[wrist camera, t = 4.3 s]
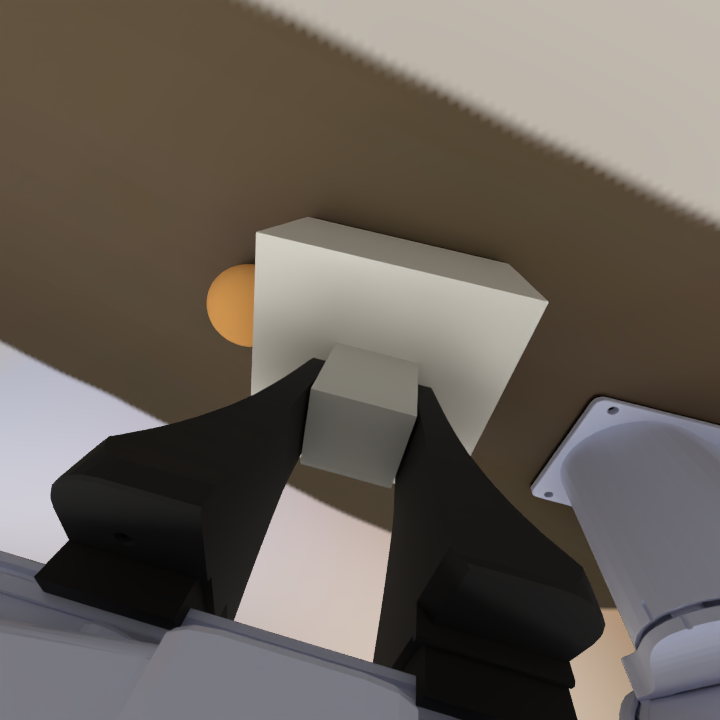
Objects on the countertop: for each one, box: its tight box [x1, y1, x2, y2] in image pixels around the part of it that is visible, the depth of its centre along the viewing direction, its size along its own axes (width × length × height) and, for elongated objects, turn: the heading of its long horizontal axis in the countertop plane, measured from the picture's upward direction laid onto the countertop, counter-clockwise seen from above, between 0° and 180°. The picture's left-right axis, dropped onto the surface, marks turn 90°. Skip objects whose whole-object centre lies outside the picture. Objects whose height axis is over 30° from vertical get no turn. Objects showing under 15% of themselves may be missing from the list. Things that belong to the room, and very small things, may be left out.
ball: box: [207, 264, 255, 347], centre depth 16 cm, size 4×4×4 cm
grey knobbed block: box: [251, 217, 549, 488], centre depth 13 cm, size 9×9×8 cm
